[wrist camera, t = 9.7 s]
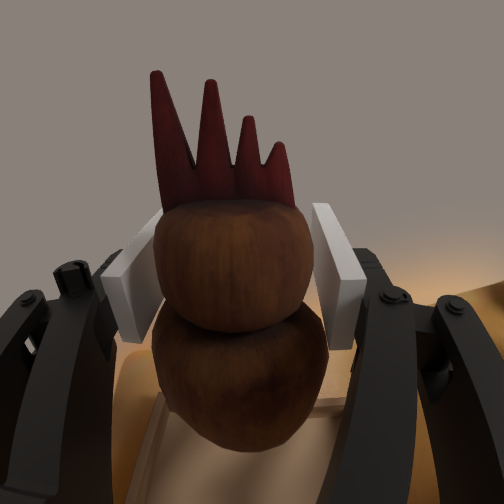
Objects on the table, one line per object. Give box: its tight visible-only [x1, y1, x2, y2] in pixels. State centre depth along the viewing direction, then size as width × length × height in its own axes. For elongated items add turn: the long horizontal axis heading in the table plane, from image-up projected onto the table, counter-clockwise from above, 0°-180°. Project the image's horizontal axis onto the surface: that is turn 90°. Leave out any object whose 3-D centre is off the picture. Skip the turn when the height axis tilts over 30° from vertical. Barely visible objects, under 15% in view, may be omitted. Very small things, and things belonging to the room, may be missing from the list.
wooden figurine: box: [150, 70, 329, 453], centre depth 10 cm, size 7×6×15 cm
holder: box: [124, 392, 346, 504], centre depth 18 cm, size 18×13×2 cm
